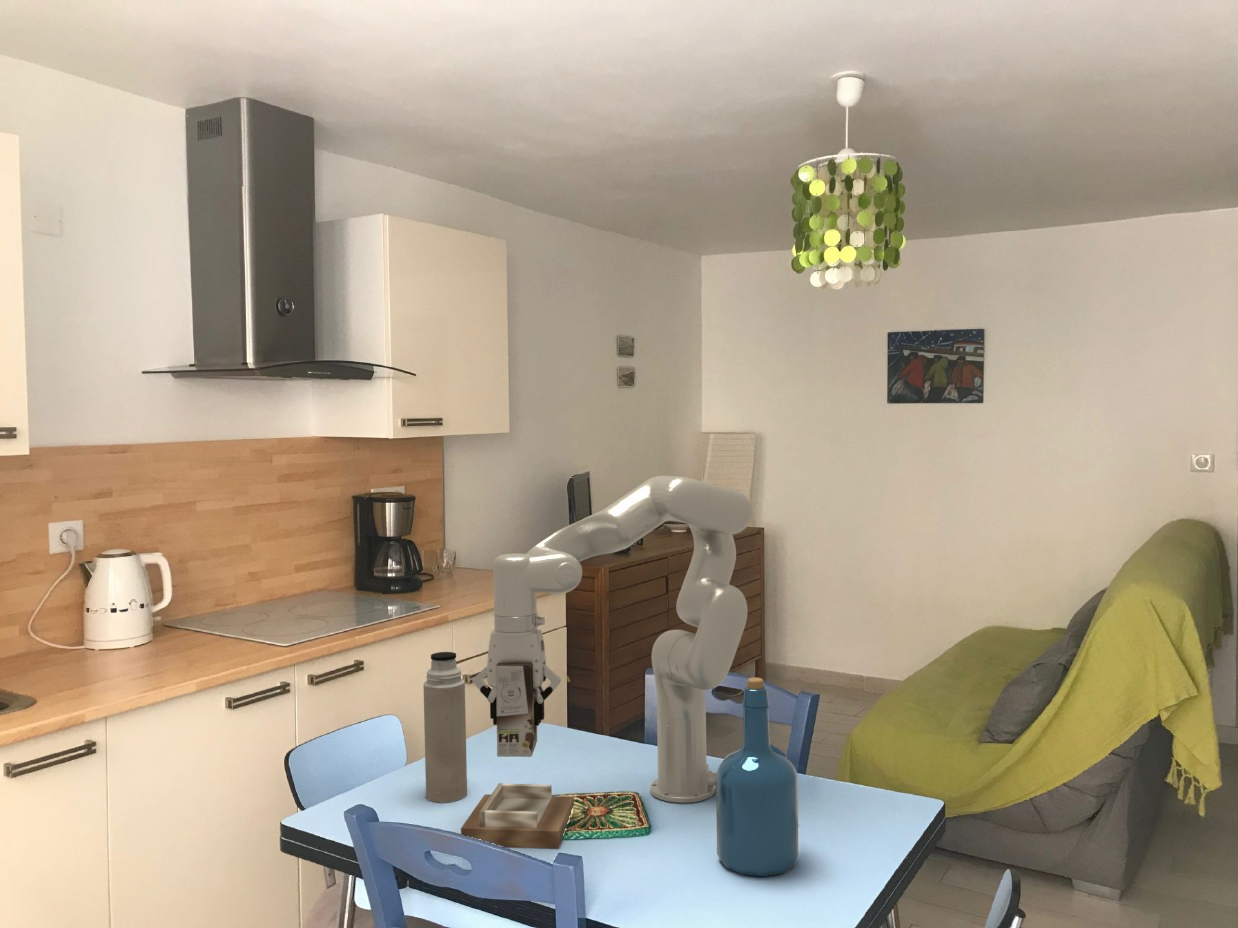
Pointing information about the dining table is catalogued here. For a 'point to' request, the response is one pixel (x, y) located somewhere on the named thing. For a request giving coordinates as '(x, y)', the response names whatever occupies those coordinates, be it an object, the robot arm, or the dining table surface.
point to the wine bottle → (757, 797)
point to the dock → (520, 817)
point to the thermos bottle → (445, 730)
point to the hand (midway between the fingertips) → (517, 722)
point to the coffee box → (515, 710)
